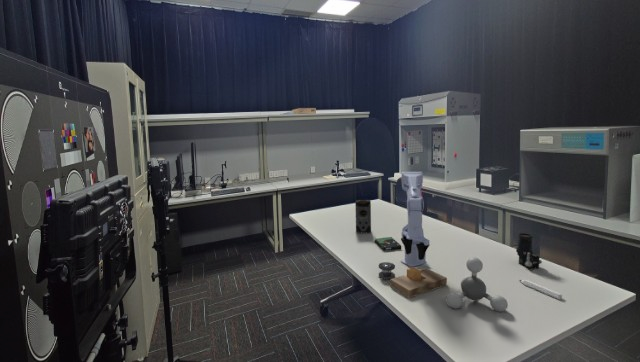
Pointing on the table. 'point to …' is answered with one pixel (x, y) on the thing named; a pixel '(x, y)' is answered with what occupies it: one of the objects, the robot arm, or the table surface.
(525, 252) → the scope
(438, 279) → the notched board
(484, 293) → the molecule model
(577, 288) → the table surface
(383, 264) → the bobbin
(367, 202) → the electronic device
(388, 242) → the disk drive
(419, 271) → the orange rectangular block
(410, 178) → the robot arm
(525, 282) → the marker
